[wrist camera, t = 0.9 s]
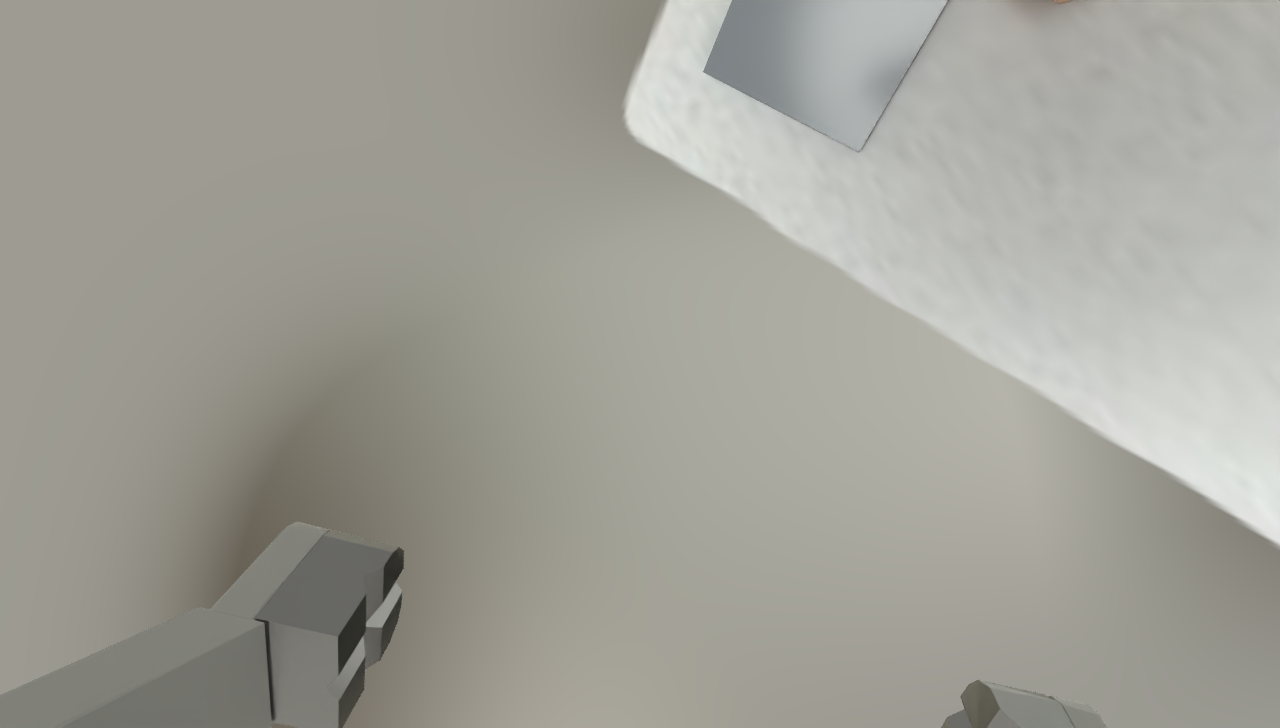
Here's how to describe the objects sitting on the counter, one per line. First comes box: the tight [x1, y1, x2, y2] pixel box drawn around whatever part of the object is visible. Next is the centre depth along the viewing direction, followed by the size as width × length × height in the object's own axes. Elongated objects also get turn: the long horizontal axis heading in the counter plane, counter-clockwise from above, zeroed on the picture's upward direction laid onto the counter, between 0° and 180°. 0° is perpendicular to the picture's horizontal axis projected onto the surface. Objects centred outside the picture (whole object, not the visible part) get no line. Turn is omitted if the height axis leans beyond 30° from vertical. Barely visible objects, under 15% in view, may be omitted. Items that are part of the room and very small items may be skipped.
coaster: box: [703, 0, 948, 152], centre depth 40 cm, size 12×12×1 cm
